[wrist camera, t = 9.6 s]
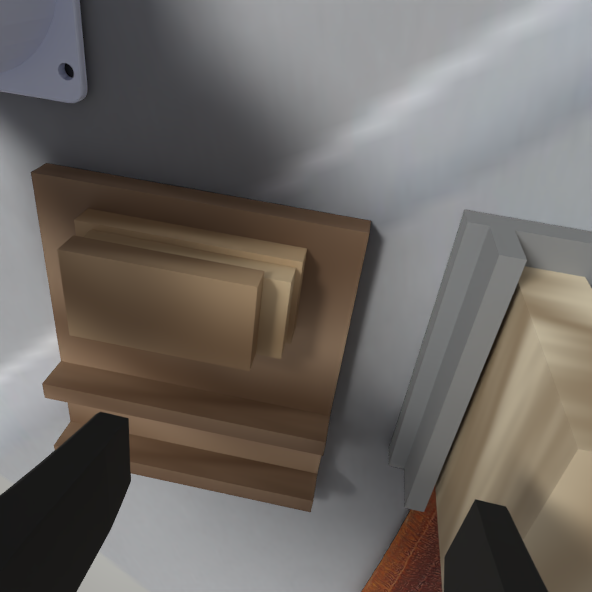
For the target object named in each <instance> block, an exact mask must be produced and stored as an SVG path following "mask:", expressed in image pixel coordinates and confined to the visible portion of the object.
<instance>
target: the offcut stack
mask: <svg viewBox="0 0 592 592" xmlns="http://www.w3.org/2000/svg"><path fill="white" fill-rule="evenodd" d="M74 224H75V232H76V236H75V235H73V236H72V237H71V238H70V239H68V240H67V241H66V242H65V243H64V244H63V245H62V246H60V247H59V248H58V249H57V251H58V258H59V265H60V272H61V279H62V286H63V293H64V300H65V307H66V314H67V321H68V328H69V335H71V336H76V337H81V338H86V339H91V340H96V341H101V342H106V343H111V344H116V345H121V346H126V347H131V348H136V349H141V350H146V351H151V352H156V353H161V354H166V355H171V356H176V357H181V358H186V359H191V360H196V361H201V362H206V363H211V364H216V365H221V366H226V367H231V368H236V369H241V370H246V371H250V369H251V366H252V363H253V360H254V357H255V355H256V354H258V355H263V356H268V357H273V358H278V359H281V357H282V353H283V350H284V346H285V343H288V344H291V342H292V338H293V335H294V331H295V327H296V320H297V313H298V307H299V300H300V293H301V286H302V280H303V273H304V266H305V259H306V253H307V248H302V247H296V246H291V245H285V244H280V243H274V242H269V241H263V240H258V239H253V238H247V237H242V236H236V235H231V234H225V233H220V232H214V231H209V230H203V229H198V228H192V227H187V226H181V225H176V224H171V223H165V222H160V221H154V220H149V219H143V218H138V217H132V216H127V215H121V214H116V213H110V212H105V211H100V210H94V209H89V208H88V209H87V210H85V211H84V212H83V213H82V214H81V215H79V216H78V217H77V218H76V219H75V220H74Z"/></svg>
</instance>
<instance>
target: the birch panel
mask: <svg viewBox="0 0 592 592" xmlns="http://www.w3.org/2000/svg"><path fill="white" fill-rule="evenodd" d="M435 490H436V505H437V520H438V534H439V549H440V564H441V579H442V592H444V557H445V555H446V553H447V551H448V549H449V547H450V545H451V544H452V542H453V540H454V538H455V536H456V534H457V532H458V530H459V529H460V527H461V525H462V523H463V521H464V519H465V517H466V515H467V514H468V512H469V510H470V508H471V506H472V504H473V502H474V500H475V499H476V500H481V501H485V502H489V503H494V504H498V505H502V506H506V508H507V509H508V511H509V512H510V514H511V517H512V519H513V521H514V523H515V525H516V527H517V529H518V531H519V533H520V535H521V537H522V540H523V542H524V544H525V546H526V548H527V550H528V552H529V554H530V556H531V558H532V560H533V562H534V564H535V566H536V568H537V570H538V572H539V574H540V576H541V578H542V580H543V582H544V584H545V586H546V588H547V590H548V592H592V288H591V286H590V285H589V283H588V281H587V279H586V278H585V277H582V276H576V275H571V274H565V273H560V272H554V271H548V270H543V269H537V268H532V267H526V266H524V269H523V271H522V274H521V276H520V279H519V281H518V284H517V286H516V288H515V291H514V293H513V296H512V298H511V301H510V303H509V306H508V308H507V310H506V313H505V315H504V318H503V320H502V323H501V325H500V328H499V330H498V332H497V335H496V337H495V340H494V342H493V345H492V347H491V350H490V352H489V354H488V357H487V359H486V362H485V364H484V367H483V369H482V371H481V374H480V376H479V379H478V381H477V384H476V386H475V389H474V391H473V393H472V396H471V398H470V401H469V403H468V406H467V408H466V411H465V413H464V415H463V418H462V420H461V423H460V425H459V428H458V430H457V433H456V435H455V437H454V440H453V442H452V445H451V447H450V450H449V452H448V454H447V457H446V459H445V462H444V464H443V467H442V469H441V472H440V474H439V476H438V479H437V481H436V484H435Z"/></svg>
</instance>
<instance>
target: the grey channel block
mask: <svg viewBox="0 0 592 592" xmlns="http://www.w3.org/2000/svg"><path fill="white" fill-rule="evenodd" d="M524 266H526V267H532V268H537V269H543V270H548V271H554V272H560V273H565V274H571V275H576V276H582V277H585V278H586V279H587V281H588V283H589V285H590V286H591V288H592V232H590V231H584V230H579V229H573V228H567V227H561V226H556V225H550V224H544V223H538V222H533V221H527V220H521V219H515V218H510V217H504V216H498V215H493V214H487V213H481V212H475V211H470V210H464V213H463V216H462V219H461V223H460V226H459V229H458V232H457V235H456V238H455V242H454V245H453V248H452V251H451V254H450V257H449V261H448V264H447V267H446V270H445V273H444V276H443V279H442V283H441V286H440V289H439V292H438V295H437V298H436V302H435V305H434V308H433V311H432V314H431V317H430V320H429V324H428V327H427V330H426V333H425V336H424V339H423V343H422V346H421V349H420V352H419V355H418V358H417V361H416V365H415V368H414V371H413V374H412V377H411V380H410V384H409V387H408V390H407V393H406V396H405V399H404V402H403V406H402V409H401V412H400V415H399V418H398V421H397V425H396V428H395V431H394V434H393V437H392V440H391V443H390V447H389V466H391V467H396V468H401V469H404V501H405V508H407V509H412V510H417V511H421V512H424V511H425V508H426V506H427V503H428V501H429V498H430V496H431V494H432V491H433V489H434V486H435V484H436V481H437V479H438V476H439V474H440V472H441V469H442V467H443V464H444V462H445V459H446V457H447V454H448V452H449V450H450V447H451V445H452V442H453V440H454V437H455V435H456V433H457V430H458V428H459V425H460V423H461V420H462V418H463V415H464V413H465V411H466V408H467V406H468V403H469V401H470V398H471V396H472V393H473V391H474V389H475V386H476V384H477V381H478V379H479V376H480V374H481V371H482V369H483V367H484V364H485V362H486V359H487V357H488V354H489V352H490V350H491V347H492V345H493V342H494V340H495V337H496V335H497V332H498V330H499V328H500V325H501V323H502V320H503V318H504V315H505V313H506V310H507V308H508V306H509V303H510V301H511V298H512V296H513V293H514V291H515V288H516V286H517V284H518V281H519V279H520V276H521V274H522V271H523V269H524Z"/></svg>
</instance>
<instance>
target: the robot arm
mask: <svg viewBox="0 0 592 592" xmlns="http://www.w3.org/2000/svg"><path fill="white" fill-rule="evenodd" d="M65 63H67V64H69V65H70V66H71V67H72V69H73V72H74V76H73V78H72V77H70V76H68V74H67V73H66V71H65V69H64V67H65ZM87 89H88V87H87V76H86V65H85V54H84V43H83V32H82V21H81V10H80V0H0V92H6V93H12V94H18V95H24V96H30V97H36V98H42V99H48V100H54V101H59V102H65V103H77V102H79V101H81V100H83V99H84V98H85V97H86V95H87ZM130 482H131V473H130V444H129V418H126V417H122V416H117V415H113V414H109V413H104V412H99V413H97V414H95V415H94V416H93V417H92V418H91V419H90V420H89V421H88V422H87V423H85V424H84V425H83V426H82V427H81V428H80V429H79V430H78V431H77V432H75V433H74V434H73V435H72V436H71V437H70V438H69V439H67V440H66V441H65V442H64V443H63V444H62V445H61V446H59V447H58V448H57V449H56V450H55V451H54V452H52V453H51V454H50V455H49V456H48V457H47V458H45V459H44V460H43V461H42V462H41V463H40V464H38V465H37V466H36V467H35V468H33V469H32V470H31V471H30V472H28V473H27V474H26V475H25V476H24V477H22V478H21V479H20V480H19V481H17V482H16V483H15V484H14V485H13V486H11V487H10V488H9V489H8V490H6V491H5V492H4V493H3V494H1V495H0V592H77V590H78V588H79V586H80V584H81V582H82V581H83V579H84V577H85V575H86V573H87V572H88V570H89V568H90V566H91V564H92V563H93V561H94V559H95V557H96V555H97V554H98V552H99V550H100V548H101V546H102V544H103V543H104V541H105V539H106V537H107V535H108V533H109V531H110V530H111V527H112V525H113V523H114V521H115V518H116V516H117V514H118V511H119V509H120V507H121V504H122V502H123V499H124V497H125V494H126V492H127V489H128V487H129V484H130ZM444 592H548V590H547V588H546V586H545V584H544V582H543V580H542V578H541V576H540V574H539V572H538V570H537V568H536V566H535V564H534V562H533V560H532V558H531V556H530V554H529V552H528V550H527V548H526V546H525V544H524V542H523V540H522V537H521V535H520V533H519V531H518V529H517V527H516V525H515V523H514V521H513V519H512V517H511V514H510V512H509V511H508V509H507V508H506V506H502V505H498V504H494V503H489V502H485V501H481V500H476V499H475V500H474V502H473V504H472V506H471V508H470V510H469V512H468V514H467V515H466V517H465V519H464V521H463V523H462V525H461V527H460V529H459V530H458V532H457V534H456V536H455V538H454V540H453V542H452V544H451V545H450V547H449V549H448V551H447V553H446V555H445V557H444Z"/></svg>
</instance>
